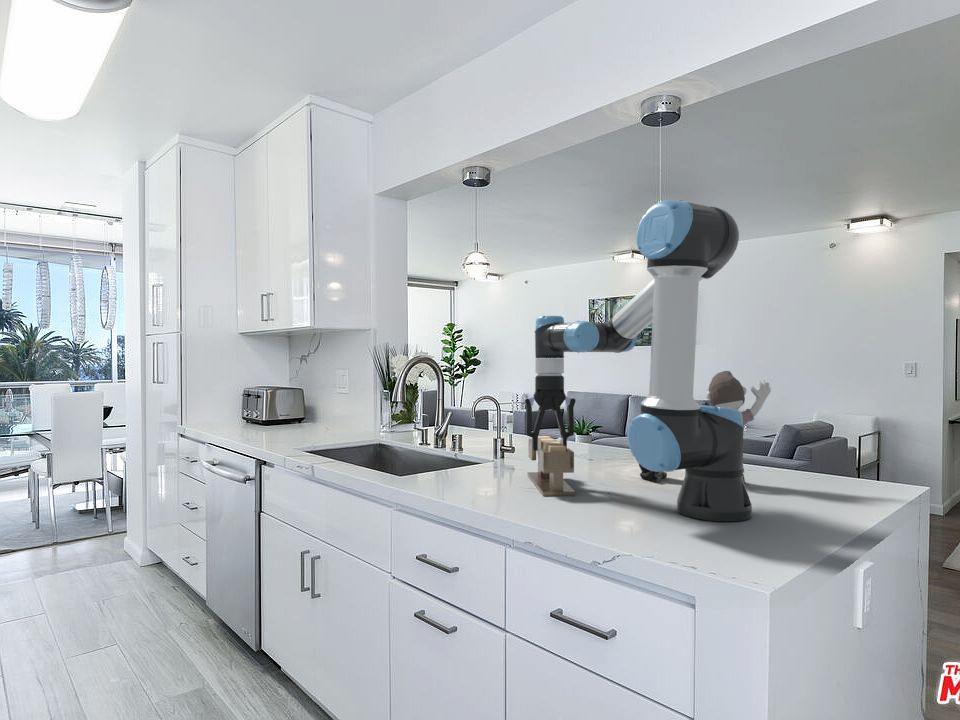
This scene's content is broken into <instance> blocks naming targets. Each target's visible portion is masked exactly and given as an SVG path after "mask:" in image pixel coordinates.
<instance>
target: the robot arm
mask: <svg viewBox="0 0 960 720" xmlns="http://www.w3.org/2000/svg"><path fill="white" fill-rule="evenodd" d="M739 238H740V231H739V227H738V223H737V222H736V220H735V218H734V217H733V216H732V215H731V214H730V213H729V212H727V211H726V210H724V209H722V208H721V207H720V208H719V207H717V206H716V207H715V206H708V205H702V204H697V203H693V202H689V201H685V200H682V199H680V200H674V199H673V200H672V199H671V200H670V199H666V200H661V201H659V202H656V203H655V204H653V205H652V206H651V207H649V208H648V209H647V210H646V213H645V214H644V215H643V216H642V217H641V219H640V221H639V224H638V227H637V230H636V238H635V240H636V247H637V249H638V250H640V251H639V253H640V254H641V255H642V256H643V257H644V258H645V259H647V261H646V262H647V263H646V264H647V265H646V271H648V273H649V274H650V275H651V276H652V277H653V279H651V280H650V281H649V282H648V283H647V284H646V285H645V286H644V287H643V288H642V289H641V290H640V291H639V292H638V293H637V294H635V296H634V297H633V298H632V299H630V300H629V301H628V302H627V303H626V304H625V305H624V306H623V307H621V309H620V310H619V311H618V312H617V313H616V314H615V315H613V317H611V318H610V319H609V320H608V321H607V322H591V321H588V320H586V321H585V320H576V321H569V322H565V319H564V317H563V316H561V315H542V316H541V315H540V316H538V317H537V318H536V319H535V330H534V340H535V341H534V343H535V344H534V345H535V347H534V349H535V351H534V352H535V364H534V365H535V371H534V372H535V374H537V375H535V377H534V378H535V379H534V380H535V383H534V385H535V387H534V388H535V389H534V390H535V391H534V393H533V396H531V397H528V398H527V397H525V398H524V399H523V403H524V405H525V427H524V428H525V429H524V430H525V433H524V434H525V435H526V436H527V437H530V438H531V439H532V448H533V450H534V451H536V460H535V461H536V464H537V465H538V464H539V449H541V439H540V438H538V436H540V431H541V427H542V424H543V420H544V415H545V414H546V411H549V410H551V411H553V412H554V415H555V418H556V422H557V427H558V430H559V433H560V437H557V441H558V442H559V443H561V444H562V445H564V446H566V448H568V447H567V446H568V438H570V437H574V435H575V423H574V422H575V421H574V418H575V417H574V416H575V415H574V414H575V413H574V410H575V409H574V406H575V404H576V401H577V400H576V399H575V397H574V398H573V397H570V396H567V395H566V393H565V376H563V374H564V373H565V353H578V354H579V353H616V354H620V353H626V352H629V351H631V350H633V348H635V345H636V343H637V340H638V335H639V334H641V332H643V331H644V330H646V328H648V326H649V325H651V324H652V325H651V344H650V345H651V346H650V367H649V387H648V392H649V393H648V395H647V396H646V398H644V399H643V400H642V401H641V402H640V414H638V415H637V416H635V417H634V418H633V419H632V421H631V422H630V423H629V425H628V427H627V434H626V435H627V443H628V447H629V450H630V452H631V454H632V456H633V457H634V458H635V460H636V461H637V463H638V465H639V464H640V465H641V466H643V467H644V468H646V469H648V470H650V471H655V472H660V471H664V472H666V473H669V472H670V473H671V472H674V471H677V470H679V471H680V470H684V473H685V475H684V478H683V481H682V485H681V487H680V490H679V493H678V495H677V498H676V511H677V512H678V513H679V514H681V515H683V516H687V517H689V518H693V519H698V520H703V521H704V520H705V521H710V522H711V521H713V522H726V523H727V522H728V523H729V522H741V521H747V520H750V519H751V518H752V516H753V506H752V501H751V499H750V497H749V493H748V490H747V487H746V483H745V484H744V481H743V474H744V473H743V468H744V430H745V426H743V417H742V414H741V412H742V411H740V410H739V409H738V410H737V409H732V408H724V407H714V406H710V405H704V404H703V405H701V404H699V403H698V402H697V401H696V400H695V399H694V386H695V385H694V383H695V366H696V365H695V363H696V362H695V361H696V346H697V345H696V344H697V343H696V341H697V328H698V327H697V324H698V309H699V307H698V306H699V285H700V282H701V281H702V280H710V279H711V278H712V277H714V276H715V275H716V274H717V273H718V272H720V271H721V270H722V269H723V268H724V267H725V265H727V264H728V263H729V261H730V260H731V258H733V256H734V254H735V252H736V250H737V248H738V245H739V240H740V239H739ZM534 402H536V404H537V405H538V411H537V416H536V418H535V422H534V427H533V429H532V422H533V420H532V419H533V417H532V416H533V408H532V407H533V405H534ZM564 402H565V405H566V418H567V420H566V426H567V431H566V426H565V423H564V419H563V416H562V415H563V414H562V410H561V406H562V404H563V403H564ZM532 430H533V431H532Z"/></svg>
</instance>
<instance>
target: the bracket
mask: <svg viewBox="0 0 960 720" xmlns="http://www.w3.org/2000/svg"><path fill="white" fill-rule="evenodd" d="M553 439H554V440H556V441H557V442H558V439H556V438H553ZM528 458H529V460H531V461H536V451H534V450H533V448H532V438H528ZM526 473H527V474H526V475H527V478H528V479H529V480H530V482H531V483H532V484H533V485H534V487H535V488H536V489H537V490H538V492H539V493H540V495H541V496H542V497H563V496H565V497H569V496H570V497H571V496H573V497H574V496H576V491H575V490H574V488H573V487H571V486H570V484H569V483H567V482H566V480H564V474H565V473H566V474H567V473H569V474H571V473H575V452H574V451H573V450H572V449H570V448H568V447H567V448H566V452H547V451H545V450H544V449H539V464H537V472H535V471H534V472H526Z"/></svg>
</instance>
